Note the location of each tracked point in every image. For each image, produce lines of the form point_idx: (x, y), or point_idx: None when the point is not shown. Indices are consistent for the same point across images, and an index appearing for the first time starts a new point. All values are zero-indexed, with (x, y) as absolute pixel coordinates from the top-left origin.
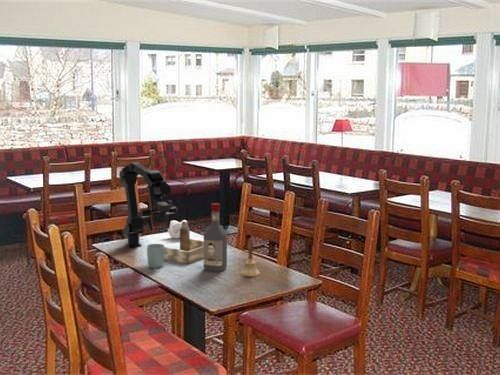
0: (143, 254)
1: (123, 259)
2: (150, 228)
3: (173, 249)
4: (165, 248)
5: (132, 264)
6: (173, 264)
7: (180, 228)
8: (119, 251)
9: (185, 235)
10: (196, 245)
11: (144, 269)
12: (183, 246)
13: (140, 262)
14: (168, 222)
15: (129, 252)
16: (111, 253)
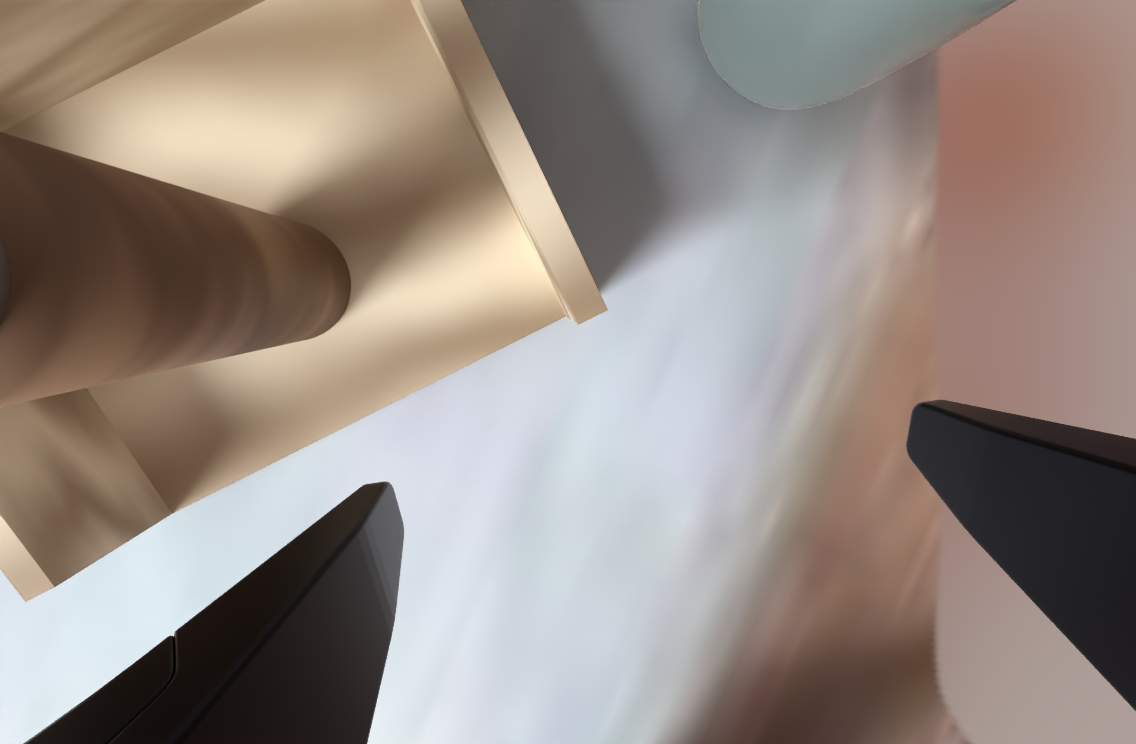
0: (685, 551)
1: None
2: (1027, 428)
3: (497, 79)
4: (571, 236)
5: (927, 265)
6: (550, 32)
7: (19, 368)
8: (842, 738)
9: (74, 155)
10: None
11: None
12: (264, 219)
13: (830, 293)
14: (309, 597)
15: (775, 671)
16: (931, 705)
